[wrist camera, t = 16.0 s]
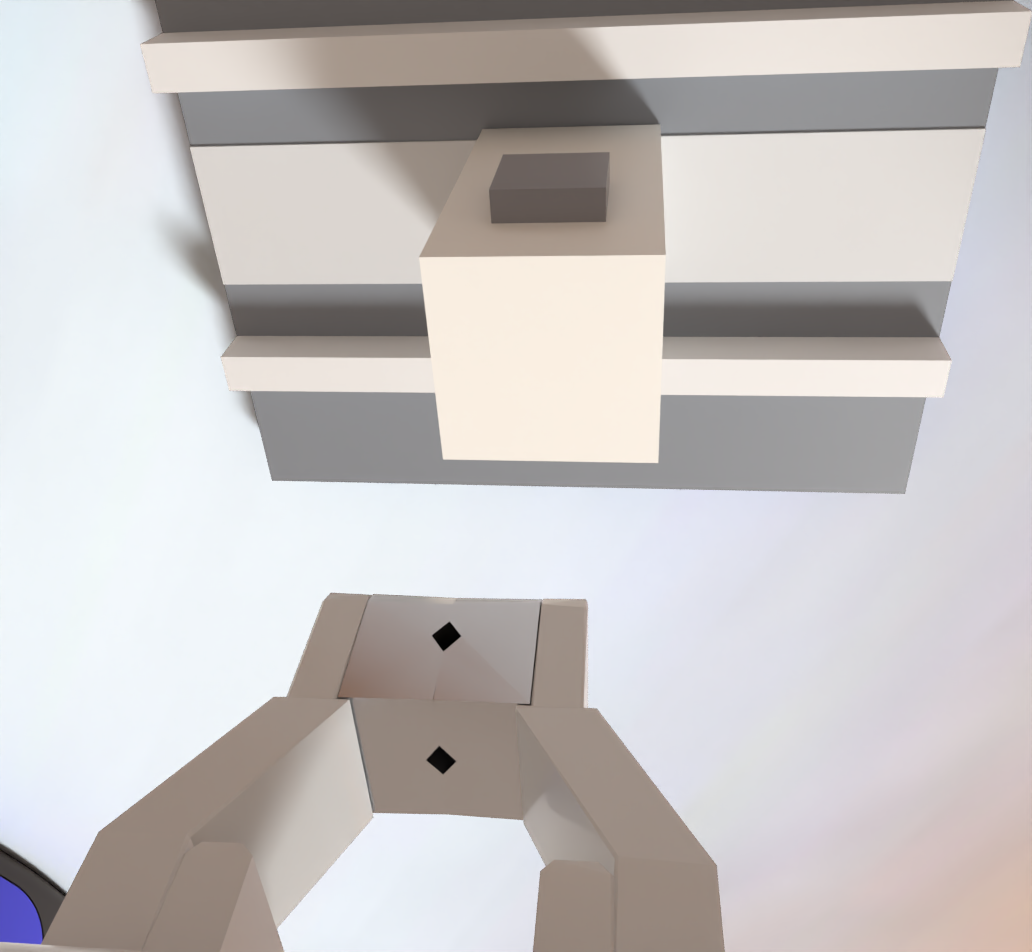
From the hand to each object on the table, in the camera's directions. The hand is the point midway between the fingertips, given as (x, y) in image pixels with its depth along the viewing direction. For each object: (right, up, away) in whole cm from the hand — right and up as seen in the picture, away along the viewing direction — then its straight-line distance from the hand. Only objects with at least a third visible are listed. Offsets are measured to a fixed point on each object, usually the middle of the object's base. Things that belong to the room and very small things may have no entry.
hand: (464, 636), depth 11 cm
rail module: (+2, +8, +12) cm, 14 cm away
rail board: (+2, +9, +13) cm, 16 cm away
